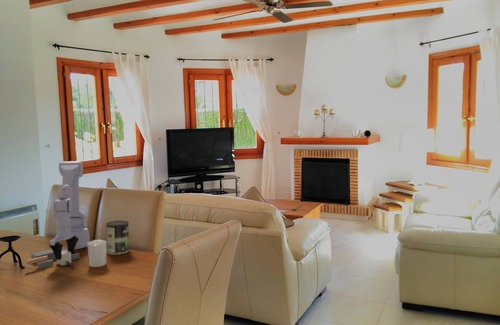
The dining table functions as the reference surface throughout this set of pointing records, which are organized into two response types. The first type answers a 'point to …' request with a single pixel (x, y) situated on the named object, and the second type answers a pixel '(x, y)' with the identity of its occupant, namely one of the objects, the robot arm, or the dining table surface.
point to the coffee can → (117, 237)
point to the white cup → (97, 253)
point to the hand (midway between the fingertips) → (64, 256)
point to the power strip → (50, 257)
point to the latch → (37, 259)
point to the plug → (65, 258)
